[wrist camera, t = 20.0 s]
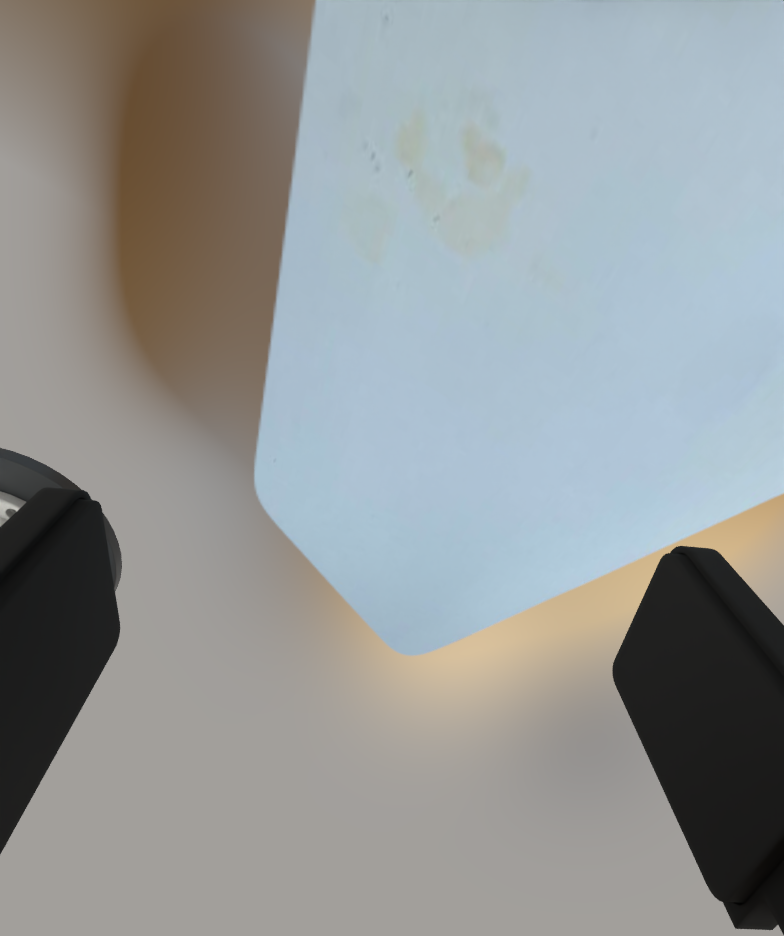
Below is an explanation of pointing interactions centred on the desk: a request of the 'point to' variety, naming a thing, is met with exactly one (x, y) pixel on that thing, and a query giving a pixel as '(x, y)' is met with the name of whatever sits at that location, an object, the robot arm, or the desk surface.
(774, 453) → the desk surface
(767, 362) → the desk surface
